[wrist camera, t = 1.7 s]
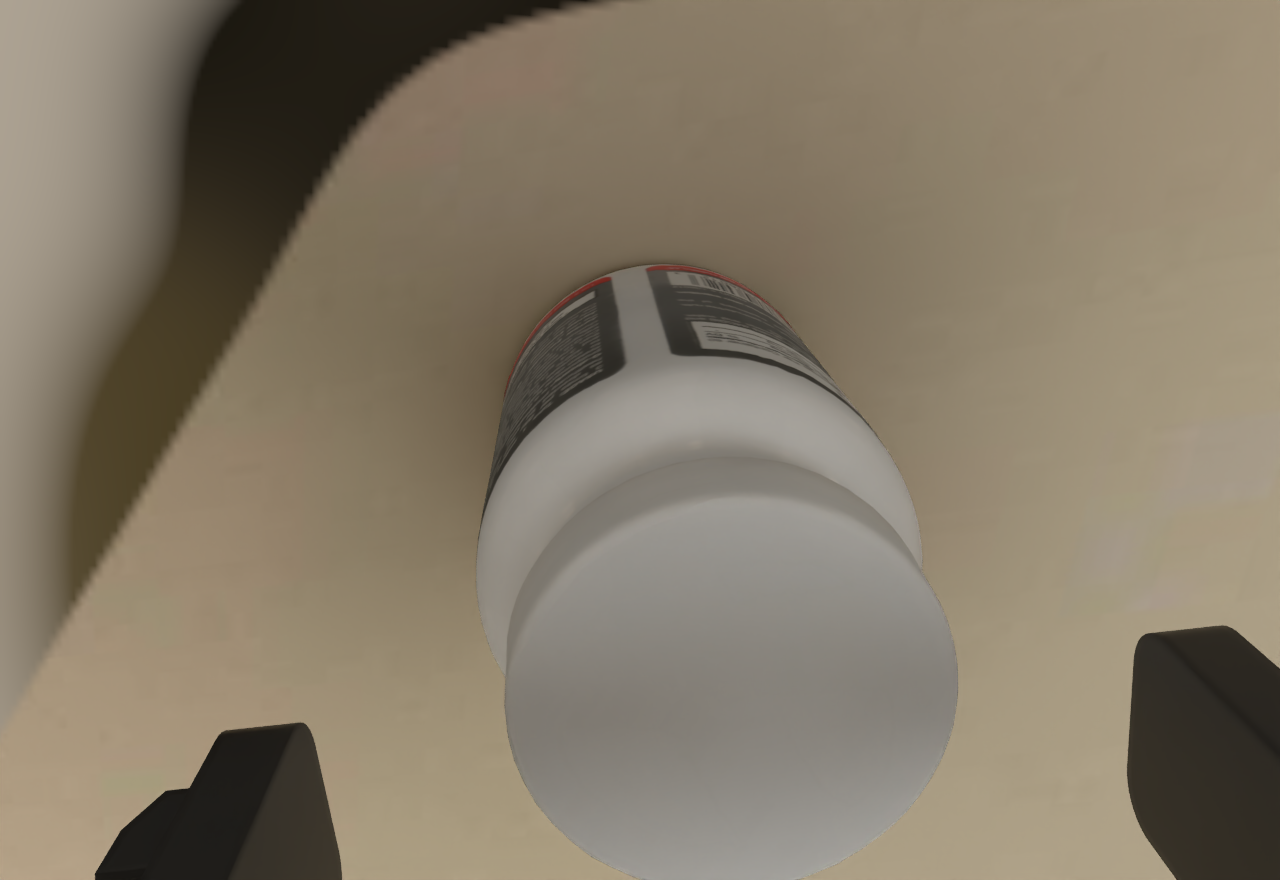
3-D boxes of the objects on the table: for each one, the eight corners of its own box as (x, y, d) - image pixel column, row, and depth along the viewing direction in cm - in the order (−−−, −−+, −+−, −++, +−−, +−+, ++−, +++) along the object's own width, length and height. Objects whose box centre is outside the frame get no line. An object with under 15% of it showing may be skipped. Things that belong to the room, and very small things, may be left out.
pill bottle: (563, 584, 22) (549, 992, 12) (461, 314, 20) (352, 552, 10) (844, 498, 21) (1051, 850, 12) (768, 215, 19) (944, 369, 10)
